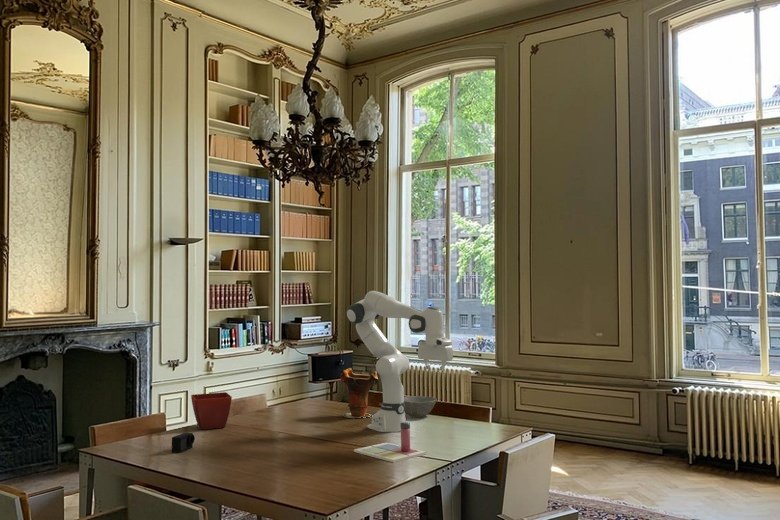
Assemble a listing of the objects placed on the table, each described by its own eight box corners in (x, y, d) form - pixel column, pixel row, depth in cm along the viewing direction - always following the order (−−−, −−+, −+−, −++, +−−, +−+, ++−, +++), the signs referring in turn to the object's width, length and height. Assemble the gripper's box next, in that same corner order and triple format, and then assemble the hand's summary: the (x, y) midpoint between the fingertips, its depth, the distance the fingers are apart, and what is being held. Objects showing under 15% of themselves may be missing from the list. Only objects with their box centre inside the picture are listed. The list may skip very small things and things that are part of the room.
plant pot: (194, 432, 331) (195, 399, 332) (190, 425, 349) (190, 394, 350) (232, 428, 339) (232, 396, 340) (226, 422, 356) (226, 392, 357)
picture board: (353, 451, 285) (353, 449, 285) (386, 444, 298) (386, 442, 299) (393, 462, 266) (393, 459, 266) (426, 454, 279) (426, 451, 280)
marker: (399, 450, 282) (398, 423, 283) (406, 449, 284) (406, 422, 285) (404, 452, 278) (403, 424, 279) (412, 450, 281) (411, 423, 281)
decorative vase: (378, 419, 362) (377, 370, 363) (338, 419, 362) (338, 371, 364) (379, 413, 382) (378, 367, 384) (341, 413, 382) (341, 367, 384)
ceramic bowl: (400, 412, 383) (399, 395, 384) (438, 413, 380) (438, 396, 381) (395, 419, 361) (395, 401, 362) (435, 420, 358) (435, 402, 359)
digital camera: (182, 453, 285) (182, 437, 285) (171, 452, 286) (171, 437, 287) (195, 448, 295) (195, 432, 295) (184, 447, 296) (184, 432, 297)
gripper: (414, 340, 312) (415, 368, 312) (445, 342, 297) (446, 371, 297) (423, 339, 317) (424, 367, 316) (454, 341, 302) (455, 370, 301)
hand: (435, 369), depth 306 cm, fingers open, 8 cm apart
